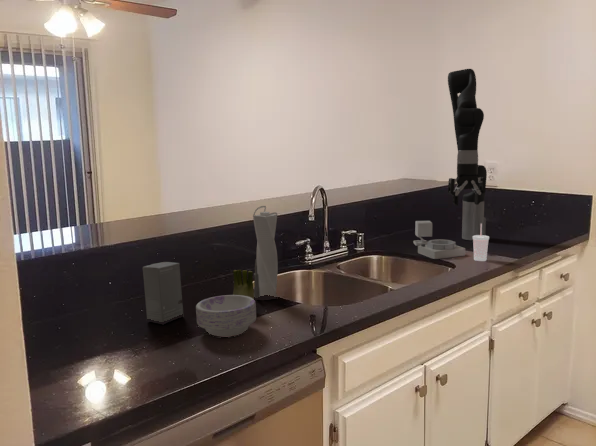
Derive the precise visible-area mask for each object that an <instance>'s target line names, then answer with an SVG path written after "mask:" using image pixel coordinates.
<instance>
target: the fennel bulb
mask: <svg viewBox="0 0 596 446" xmlns="http://www.w3.org/2000/svg"><path fill="white" fill-rule="evenodd" d="M232 274H233V292H232V295H243V296H248V297H251V298H253V299H254V272H253V271H251V270H249V271H248V270H247V269H245V270H243V269H237V270H236V269H234V270H232Z"/></svg>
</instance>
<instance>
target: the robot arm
mask: <svg viewBox="0 0 596 446" xmlns="http://www.w3.org/2000/svg"><path fill="white" fill-rule="evenodd" d="M447 84H448V91H449V95H450V102H451V107H452V116H453V125H454V132H455V133H454V134H455V140H456V145H457V146H456V147H457V156H456V158H457V159H456V161H457V162H456V178H453V177H451V178H448V185H447V194H448V195H451V196H452V204H453V206H455V207H458V206H459V194H460V193H461V192H462V191H463V190H472V191H470V192H468V193H464V194H463V196H462V215H461V216H462V221H461V223H462V224H461V227H462V228H461V239H462V240H466V241H473V237H472V236H474V235H480V227H481V224H482V235H485V236H486V224H487V222H486V221H487V219H486V217H485V197H486V190H487V189H486V186H487V173H488V172H487V169H486V167H485V165H480V164H479V151H478V148H479V146H478V144H479V136H480V131H481V128H482V125H483V122H484V119H485V114H484V111H483V109H482V108H480V107H477V106H478V105H477V101H476V95H477V76H476V72H475V70H474V69H473V68H465V69H460V70H455V71H450V72H449V73H448V75H447ZM455 184H456V186H455Z"/></svg>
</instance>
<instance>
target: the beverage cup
mask: <svg viewBox="0 0 596 446" xmlns="http://www.w3.org/2000/svg"><path fill="white" fill-rule="evenodd" d="M472 237H473V240H472V243H473V260H474V261H476V262H477V261H478V262H486V261H487V258H488V249H489V248H488V246H489V240H490V236H489V235H486V234H485V235H482V224H481V227H480V235H474V236H472Z"/></svg>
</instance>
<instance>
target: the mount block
mask: <svg viewBox="0 0 596 446" xmlns="http://www.w3.org/2000/svg"><path fill="white" fill-rule="evenodd" d="M417 253H418V254H420V255H423V256H426V257H427V258H430V259H434V260H439V259H441V260H442V259H446V258H456V257H465V256H466V247H462V246H459V245H457V244H456V241H453V240H451V239H442V238H441V239H439V238H438V239H437V238H436V239H430V240H427V245H425V244H421V246H417Z"/></svg>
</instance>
